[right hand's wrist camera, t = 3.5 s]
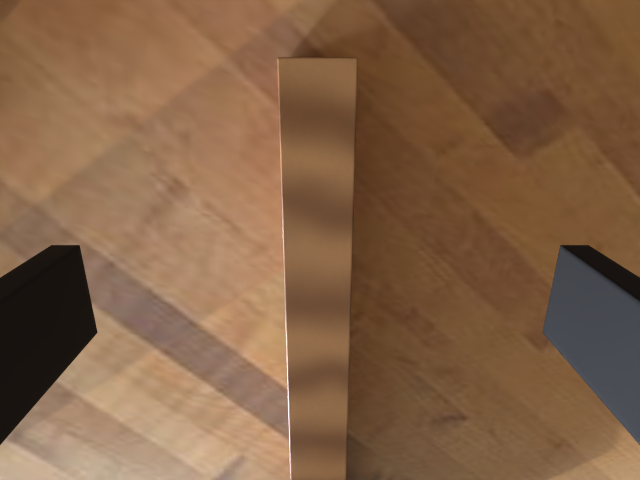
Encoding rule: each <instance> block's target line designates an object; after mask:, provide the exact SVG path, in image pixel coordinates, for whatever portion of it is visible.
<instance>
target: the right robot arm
mask: <svg viewBox="0 0 640 480" xmlns="http://www.w3.org/2000/svg"><path fill="white" fill-rule="evenodd" d="M96 334H97V328H96V323H95V318H94V314H93V309H92V304H91V299H90V294H89V289H88V284H87V279H86V274H85V270H84V265H83V260H82V255H81V250H80V245H51V246H50V247H48V248H46V249H45V250H43V251H42V252H40V253H39V254H37V255H35V256H34V257H32V258H31V259H29V260H28V261H26V262H24V263H23V264H21V265H20V266H18V267H17V268H15V269H13V270H12V271H10V272H9V273H7V274H5V275H4V276H2V277H1V278H0V445H1V443H2V442H3V441H4V440H5V439H6V438H7V436H8V435H9V434H10V433H11V432H12V431H13V430H14V428H15V427H16V426H17V425H18V424H19V423H20V421H21V420H22V419H23V418H24V417H25V416H26V414H27V413H28V412H29V411H30V410H31V409H32V408H33V406H34V405H35V404H36V403H37V402H38V401H39V399H40V398H41V397H42V396H43V395H44V394H45V393H46V391H47V390H48V389H49V388H50V387H51V386H52V384H53V383H54V382H55V381H56V380H57V379H58V377H59V376H60V375H61V374H62V373H63V372H64V371H65V369H66V368H67V367H68V366H69V365H70V364H71V362H72V361H73V360H74V359H75V358H76V357H77V356H78V354H79V353H80V352H81V351H82V350H83V349H84V347H85V346H86V345H87V344H88V343H89V342H90V340H91V339H92V338H93V337H94V336H95V335H96ZM543 334H544V335H545V336H546V337H547V338H548V339H549V340H550V342H551V343H552V344H553V345H554V346H555V347H556V349H557V350H558V351H559V352H560V353H561V354H562V356H563V357H564V358H565V359H566V360H567V361H568V362H569V364H570V365H571V366H572V367H573V368H574V369H575V371H576V372H577V373H578V374H579V375H580V376H581V377H582V379H583V380H584V381H585V382H586V383H587V384H588V386H589V387H590V388H591V389H592V390H593V391H594V393H595V394H596V395H597V396H598V397H599V398H600V399H601V401H602V402H603V403H604V404H605V405H606V406H607V408H608V409H609V410H610V411H611V412H612V413H613V414H614V416H615V417H616V418H617V419H618V420H619V421H620V423H621V424H622V425H623V426H624V427H625V428H626V430H627V431H628V432H629V433H630V434H631V435H632V436H633V438H634V439H635V440H636V441H637V442H638V443H639V445H640V278H639V277H638V276H636V275H635V274H633V273H631V272H630V271H628V270H627V269H625V268H623V267H622V266H620V265H619V264H617V263H616V262H614V261H612V260H611V259H609V258H608V257H606V256H605V255H603V254H601V253H600V252H598V251H597V250H595V249H594V248H592V247H590V246H589V245H560V250H559V255H558V260H557V265H556V270H555V274H554V279H553V284H552V289H551V294H550V299H549V304H548V309H547V314H546V318H545V323H544V328H543Z"/></svg>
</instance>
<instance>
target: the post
mask: <svg viewBox="0 0 640 480" xmlns="http://www.w3.org/2000/svg"><path fill="white" fill-rule="evenodd" d="M277 65H278V97H279V129H280V161H281V193H282V224H283V256H284V288H285V320H286V352H287V384H288V416H289V448H290V479H291V480H346V464H347V428H348V392H349V356H350V320H351V284H352V249H353V213H354V177H355V141H356V105H357V69H358V59H357V58H278V59H277Z"/></svg>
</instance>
